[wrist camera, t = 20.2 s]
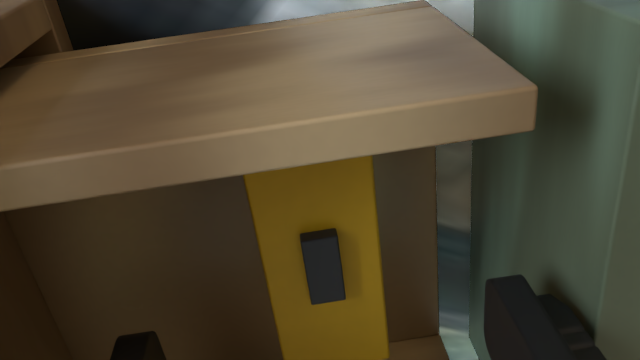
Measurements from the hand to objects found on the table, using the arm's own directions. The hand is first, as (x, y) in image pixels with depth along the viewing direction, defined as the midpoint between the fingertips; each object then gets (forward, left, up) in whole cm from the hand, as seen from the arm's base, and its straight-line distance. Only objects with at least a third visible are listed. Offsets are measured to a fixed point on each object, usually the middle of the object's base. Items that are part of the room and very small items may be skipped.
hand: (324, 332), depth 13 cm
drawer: (-1, +1, -6) cm, 6 cm away
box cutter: (0, 0, -5) cm, 5 cm away
